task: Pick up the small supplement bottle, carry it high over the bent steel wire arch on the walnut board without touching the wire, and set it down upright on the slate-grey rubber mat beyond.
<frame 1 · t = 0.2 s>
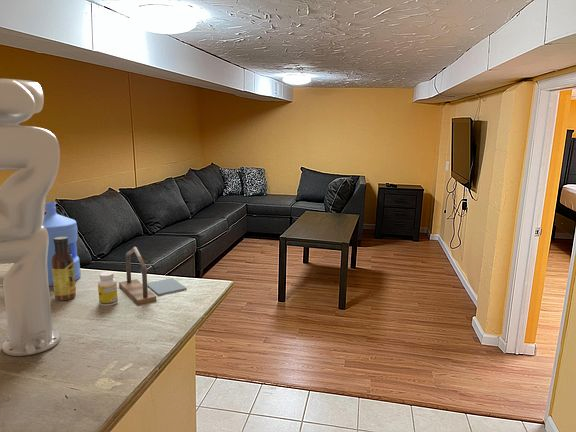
hand: (10, 190, 121), 36 cm above the worktop, tool pointing down, fingers open, 9 cm apart
water jug: (57, 279, 155), on the worktop
wire arch: (137, 293, 144), on the worktop
supplement bottle: (108, 303, 136), on the worktop
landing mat: (165, 287, 150), on the worktop
sauce bottle: (65, 298, 139), on the worktop
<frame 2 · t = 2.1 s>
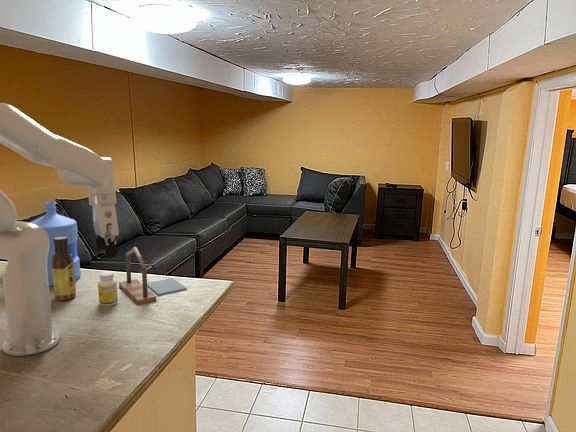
hand: (106, 253, 133), 16 cm above the worktop, tool pointing down, fingers open, 9 cm apart
nothing on the worktop moved.
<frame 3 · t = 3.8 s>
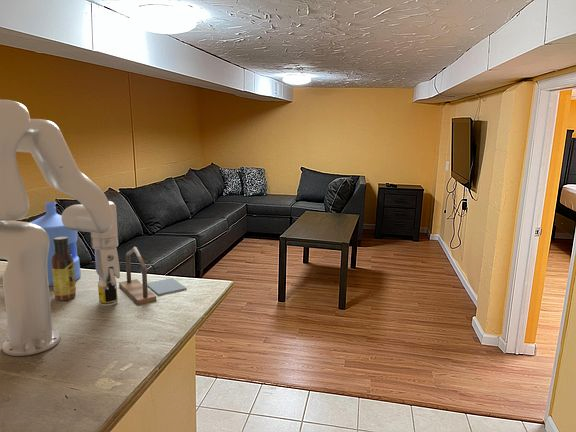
hand: (108, 296, 135), 2 cm above the worktop, tool pointing down, fingers closed on supplement bottle, 5 cm apart
supplement bottle: (108, 303, 136), on the worktop, touching gripper
everything else where it was.
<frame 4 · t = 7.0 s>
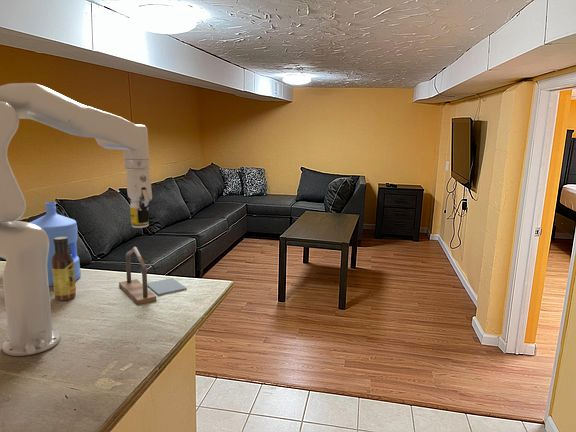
hand: (140, 220, 139), 25 cm above the worktop, tool pointing down, fingers closed on supplement bottle, 5 cm apart
supplement bottle: (140, 226, 139), point 23 cm above the worktop, touching gripper
everything else where it was.
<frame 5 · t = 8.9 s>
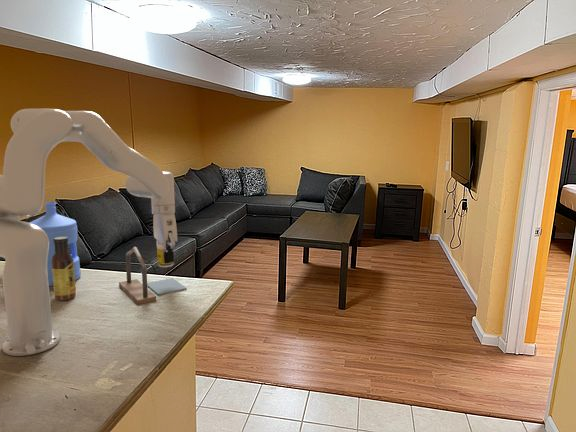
hand: (165, 259, 148), 10 cm above the worktop, tool pointing down, fingers closed on supplement bottle, 5 cm apart
supplement bottle: (165, 265, 149), point 8 cm above the worktop, touching gripper
everything else where it was.
when the fingers open (4 cm above the worktop, at t = 10.2 s): supplement bottle drops 1 cm, resting on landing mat.
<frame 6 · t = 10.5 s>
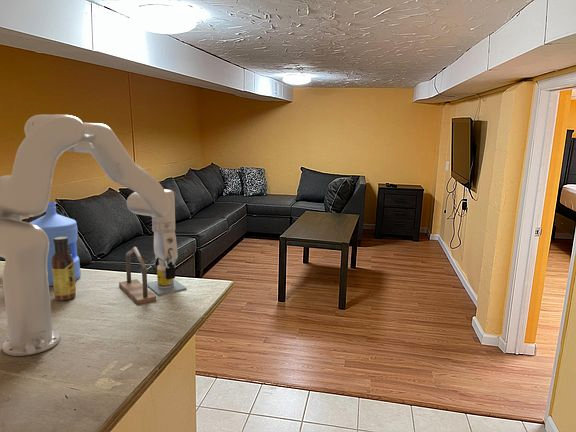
hand: (165, 274, 149), 5 cm above the worktop, tool pointing down, fingers open, 8 cm apart
supplement bottle: (165, 286, 149), resting on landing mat
everything else where it was.
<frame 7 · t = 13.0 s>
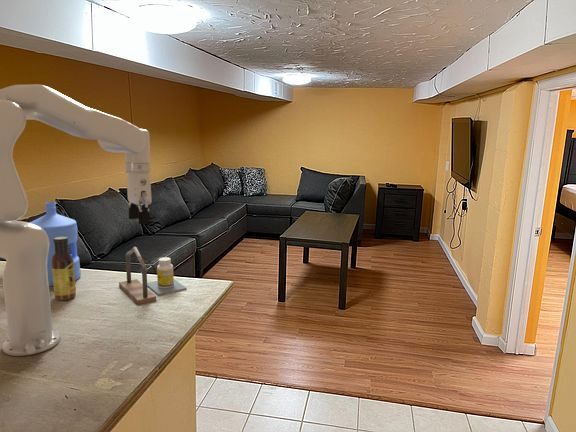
hand: (138, 221, 139), 25 cm above the worktop, tool pointing down, fingers open, 9 cm apart
nothing on the worktop moved.
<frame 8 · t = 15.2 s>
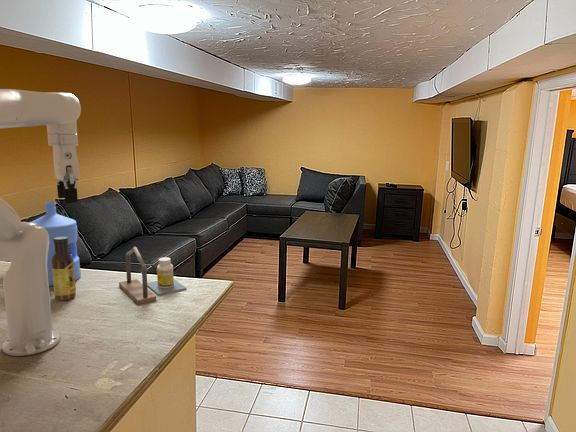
hand: (67, 200, 125), 33 cm above the worktop, tool pointing down, fingers open, 9 cm apart
nothing on the worktop moved.
at the end: supplement bottle inside the target area on the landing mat (0.2 cm from its centre), point 0.4 cm above the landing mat's base; supplement bottle tilted 0°; supplement bottle touching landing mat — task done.
